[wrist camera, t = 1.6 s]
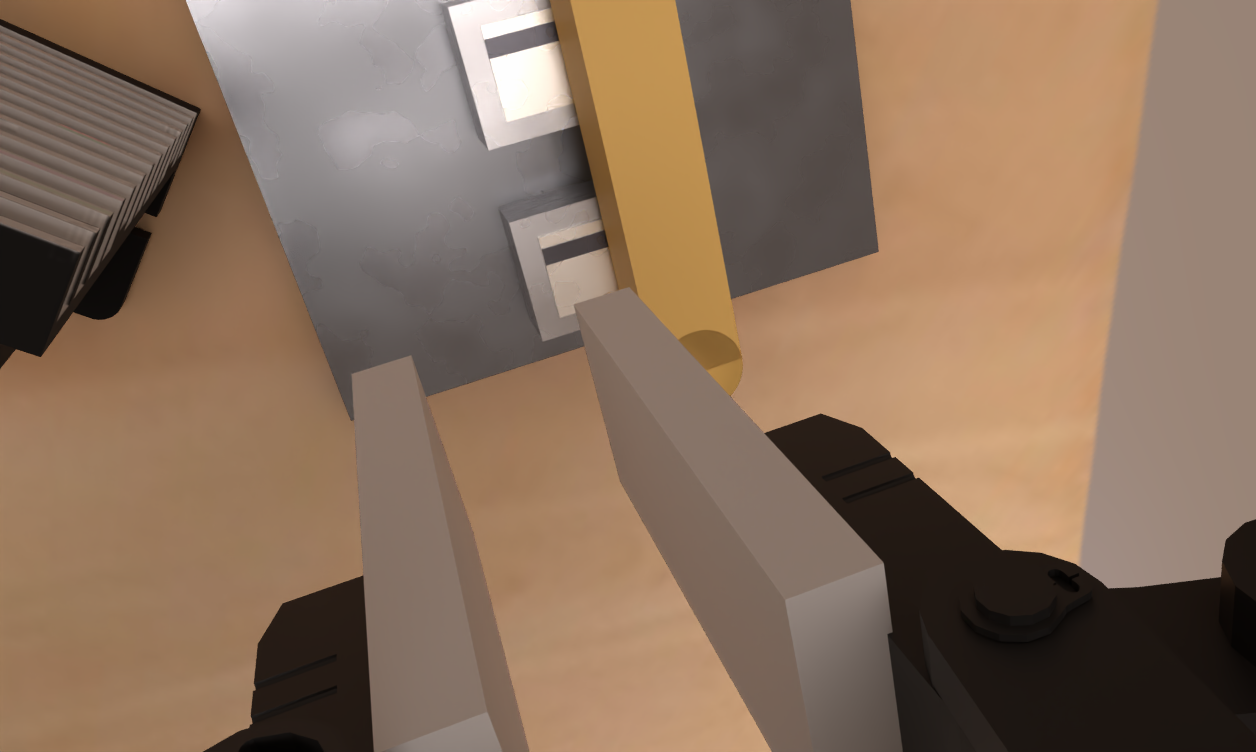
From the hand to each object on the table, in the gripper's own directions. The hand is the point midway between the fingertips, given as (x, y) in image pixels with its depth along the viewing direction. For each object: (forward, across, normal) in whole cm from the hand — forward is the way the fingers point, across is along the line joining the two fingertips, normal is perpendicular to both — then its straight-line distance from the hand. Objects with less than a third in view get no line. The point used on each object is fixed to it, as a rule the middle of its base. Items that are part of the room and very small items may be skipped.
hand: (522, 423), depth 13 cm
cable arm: (+23, +7, -1) cm, 24 cm away
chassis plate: (+24, +6, -1) cm, 25 cm away
